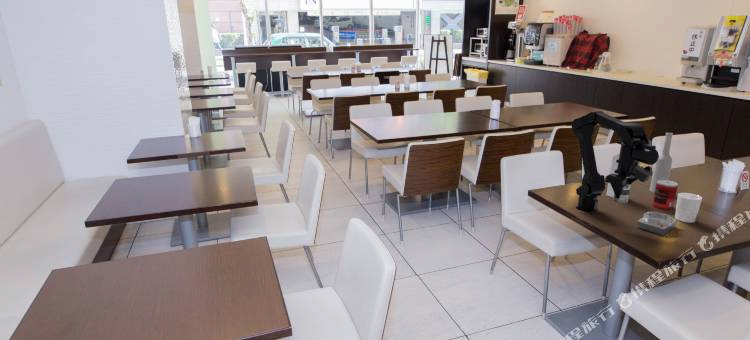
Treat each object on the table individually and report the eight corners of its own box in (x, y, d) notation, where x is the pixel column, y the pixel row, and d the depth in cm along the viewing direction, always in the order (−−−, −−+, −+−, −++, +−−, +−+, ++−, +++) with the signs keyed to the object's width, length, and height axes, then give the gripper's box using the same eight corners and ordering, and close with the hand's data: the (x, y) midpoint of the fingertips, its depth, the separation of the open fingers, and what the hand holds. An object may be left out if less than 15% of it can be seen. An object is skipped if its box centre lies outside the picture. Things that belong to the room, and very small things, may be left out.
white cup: (700, 224, 172) (706, 200, 169) (678, 222, 174) (683, 198, 171) (690, 216, 179) (696, 193, 176) (669, 214, 181) (674, 192, 178)
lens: (610, 200, 170) (613, 182, 168) (616, 197, 173) (619, 179, 171) (624, 204, 166) (627, 185, 164) (630, 201, 169) (633, 183, 167)
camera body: (636, 227, 169) (639, 216, 168) (650, 219, 176) (652, 209, 175) (662, 235, 163) (665, 224, 161) (675, 226, 170) (677, 216, 168)
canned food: (671, 204, 191) (676, 180, 188) (674, 211, 184) (679, 186, 181) (651, 202, 194) (655, 178, 191) (653, 208, 188) (658, 184, 184)
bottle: (662, 194, 203) (675, 135, 195) (647, 191, 208) (658, 133, 199) (668, 191, 207) (680, 133, 198) (652, 188, 212) (664, 131, 203)
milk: (606, 195, 203) (613, 149, 196) (614, 193, 205) (622, 147, 199) (618, 199, 197) (625, 152, 191) (627, 197, 200) (634, 150, 193)
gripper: (639, 167, 153) (632, 208, 158) (661, 158, 164) (653, 197, 168) (607, 160, 161) (601, 200, 166) (630, 152, 172) (623, 189, 177)
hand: (620, 196), depth 169 cm, fingers closed on lens, 5 cm apart
